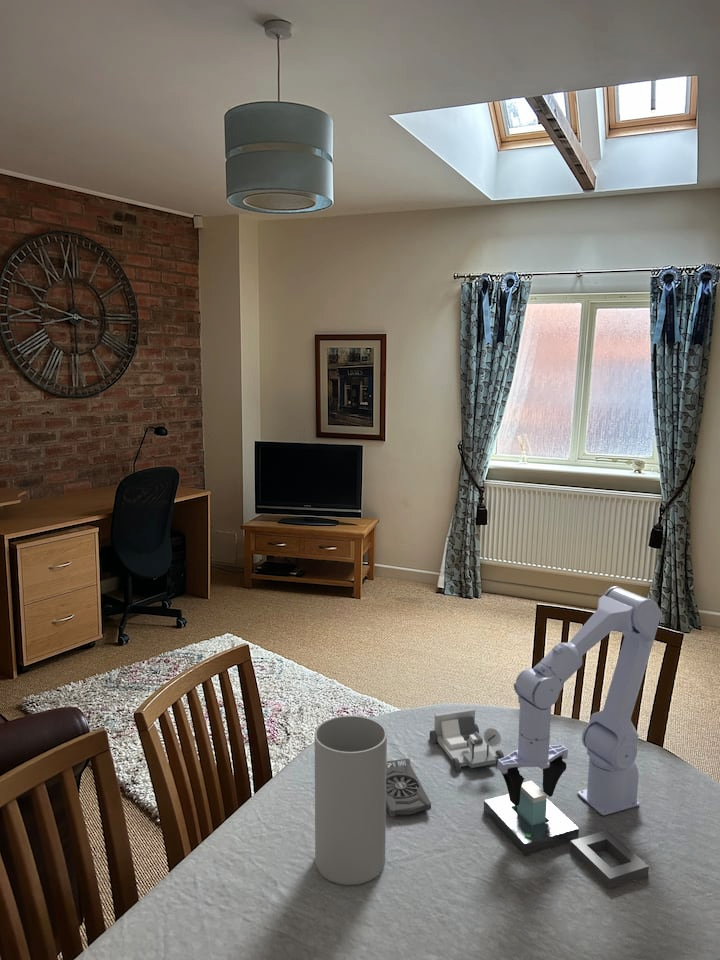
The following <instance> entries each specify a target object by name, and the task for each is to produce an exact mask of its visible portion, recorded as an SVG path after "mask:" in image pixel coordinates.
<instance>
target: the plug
mask: <svg viewBox="0 0 720 960" xmlns="http://www.w3.org/2000/svg"><path fill="white" fill-rule="evenodd" d="M547 799H548V795H547V794H546V793H545V792H544V791H543V789H542V788H541V787H539V786H538V785H537V784H536V783H535V782H534V781H533V780H532V779H531V780H527V781H525V782H524V781H523V783H522V786H521V791H520V802H519V805H518V806H517V814H518V815H519V816H520V817H521V818H522V819H523V820H524V821H525V822H526V823H527V824H528V825H529V826H530V827H531V826H534V825H538V824H542V823H545V822H546V805H547Z"/></svg>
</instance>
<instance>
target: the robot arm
mask: <svg viewBox="0 0 720 960" xmlns="http://www.w3.org/2000/svg"><path fill="white" fill-rule="evenodd" d="M662 615H663V612H662V611H661V609H660V607H659V605H658V603H657V602H656V601H655V600H653V599H652V598H646V597H644V596H642V595H639V594H637V593H634V592H631V591H629V590H626V589H624V588H623V587H620V586H618V585H616V586H615V585H614V586H611V587H609V588H608V589H607V590H606V591H605V592H604V593H603V595H602V596H601V597H599V598H598V601H597V609H596V611H594V613H593V614H592V615H591V616H590V617H589V618H588V619H587V621H586V622H585V623H584V625H583V626H582V627H581V628H580V629H579V630H578V631H577V632H576V633H575V634H574V636H572V638H571V639H570V640H569V641H568V642H559V643H557V644H556V645H554V647H552V649H551V650H550V651H549V652H548V653H547V654H546V655H545V656H544V657H543V658H542V659H541V660H539V662H538V663H537V664H536V665H534V667H533V668H532V667H531V668H530V667H529V668H526V669H523V670H522V671H520V673H519V674H518V675H517V677H516V680H515V682H514V683H513V689H514V690H513V691H514V692H515V693H516V695H517V698H518V701H517V702H518V703H519V719H518V741H517V742H518V744H517V745H518V746H517V749H516V750H514V751H511V753H509V754H508V755H506V756H504V758H501V759H498V761H497V770H498V771H499V772H500V773H501V775H502V777H503V779H504V783H505V784H506V788H507V793H508V794H509V798H510V801H511V802H512V803H513V804H514V805H515V806H518V805H519V802H520V791H521V786H522V783H523V782H524V781H525V777H524V776H522V775H521V774H520V770H519V769H520V768H537V767H538V768H539V769H541V770H542V791H544V792H545V793H546V794H547V797H549V798H551V797H553V795H554V792H555V789H556V787H557V784H558V782H559V779H560V778H561V776H562V775H563V773H564V772H565V771H566V770H567V763H566V762H565V761H564V760H565V759H568V752H569V749H568V748H567V747H566V746H565V745H563V744H562V743H561V744H557V745H554V744H552V745H550V736H551V735H550V734H551V718H552V717H551V716H552V706H553V705H555V704H556V703H557V701H558V699H559V697H560V694H561V691H562V690H563V688H564V684H565V683H567V681H568V680H569V679H570V678H571V677H572V676H573V675H574V674H575V673H576V672H577V671H578V670H579V669H580V668H581V667H582V666H583V656H584V655H585V654H586V653H587V652H588V651H590V650H591V649H592V648H594V647H595V646H596V645H597V644H598V643H599V642H600V641H602V640H603V639H604V638H605V637H607V636H608V635H609V634H610V633H612V632H621V634H622V635H623V639H622V640H623V641H622V644H621V648H620V651H619V654H618V658H617V661H616V665H615V668H614V671H613V674H612V678H611V682H610V685H609V688H608V692H607V695H606V699H605V702H604V705H603V709H602V710H599V711H596V712H594V713H592V714H591V715H590V719H589V722H588V723H587V725H586V726H585V728H584V729H583V731H582V734H581V741H582V745H583V746H584V747H585V748H586V749H587V750H586V755H587V756H588V772H587V774H588V775H587V788H586V789H581V790H578V791H577V796H579V797H580V798H582V799H583V801H585V802H586V803H587V804H588V805H590V807H592V808H593V809H594V810H595V811H596V812H598V814H600V815H602V816H606V815H609V814H610V815H611V814H614V813H617V812H621V811H624V810H629V809H632V808H635V807H639V806H640V802H639V801H638V792H639V791H638V790H639V789H638V787H639V777H640V776H639V774H640V773H639V770H638V766H637V764H636V762H635V761H636V759H637V757H638V756H637V755H638V740H639V736H640V735H639V733H638V732H637V730H636V727H635V725H634V724H633V722H632V716H633V713H634V709H635V706H636V704H637V703H636V702H637V699H638V696H639V692H640V689H641V687H642V682H643V679H644V675H645V672H646V669H647V666H648V662H649V658H650V655H651V652H652V648H653V645H654V641H655V639H656V634H657V631H658V627H659V624H660V620H661V617H662Z"/></svg>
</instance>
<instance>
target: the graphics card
mask: <svg viewBox="0 0 720 960" xmlns="http://www.w3.org/2000/svg"><path fill="white" fill-rule="evenodd" d="M393 763H394V764H395V765H394V764H393ZM390 764H391V765H390ZM388 766H389V767H388ZM430 810H432V803H431V801H430V799H429V796H428V795H427V793H426V791H425V789H424V788H423V785H422V783H421V782H420V780H419V778H418V776H417V774H416V772H415V771H414V769H413V768H412V765H411V758H410V757H409V756H408V757H407V758H401V759H395V760H389V761H388V760H386V811H387V812H388V813H389V816H391V817H395V816H396V815H413V814H417V813H420V812H422V811H430Z"/></svg>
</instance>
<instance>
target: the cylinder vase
mask: <svg viewBox="0 0 720 960" xmlns="http://www.w3.org/2000/svg"><path fill="white" fill-rule="evenodd" d="M387 735H388V733H387V729H386V728H385V727H384V725H383V724H381V723H380V722H379V721H377V720H375V719H373V718H370V717H366V716H361V715H340V716H335V717H332V718H328V719H327V720H324V721H323V722H321V723H320V724H319V725H318V726H317V727H316V729H315V730H314V829H315V830H314V848H315V849H314V854H315V855H314V859H315V860H314V861H315V867H316V868H317V870H318V872H319V873H320V874H321V875H322V876H323V877H324V878H325V879H327V880H329V881H330V882H333V883H335V884H338V885H344V886H357V885H361V884H366V883H368V882H370V881H372V880H374V879H375V878H377V876H378V875H380V873H381V872H382V871H383V869H384V867H385V863H386V838H387V836H386V833H387V832H386V827H387V825H386V823H387V822H386V821H387V817H386V815H387V814H386V813H387V810H386V764H387V763H386V762H387V759H388V758H387V754H388V753H387V749H388V748H387V746H388V744H387V743H388V740H387V739H388V736H387Z"/></svg>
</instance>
